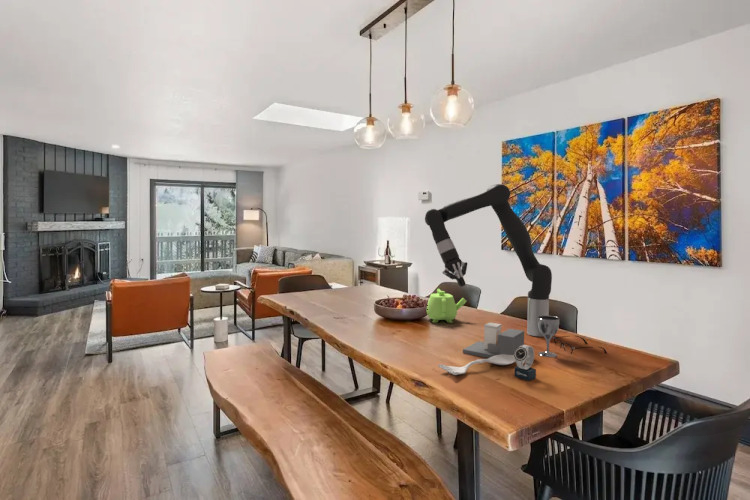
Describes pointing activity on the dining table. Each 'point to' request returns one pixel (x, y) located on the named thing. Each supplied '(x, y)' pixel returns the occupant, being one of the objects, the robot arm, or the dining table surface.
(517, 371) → the watch
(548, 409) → the dining table surface
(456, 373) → the spoon
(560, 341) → the eyeglasses
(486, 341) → the white rectangular block
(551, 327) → the wine glass
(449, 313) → the teapot
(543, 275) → the robot arm
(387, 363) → the dining table surface
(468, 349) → the grey block model
